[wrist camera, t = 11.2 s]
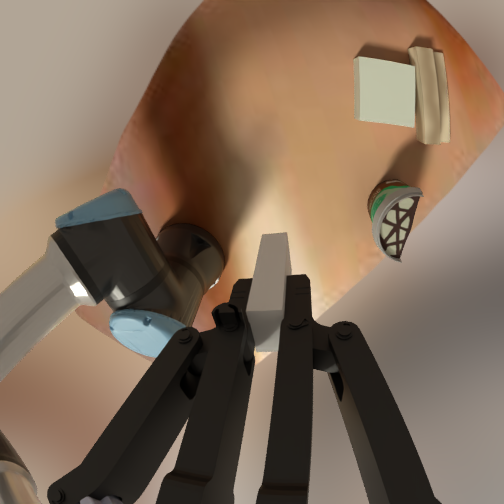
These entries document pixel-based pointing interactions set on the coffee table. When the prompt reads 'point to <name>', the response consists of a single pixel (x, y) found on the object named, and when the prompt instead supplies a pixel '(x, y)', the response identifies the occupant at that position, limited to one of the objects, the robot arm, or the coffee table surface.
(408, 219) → the food container
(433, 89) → the beige ridged bar
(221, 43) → the coffee table surface
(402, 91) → the block
